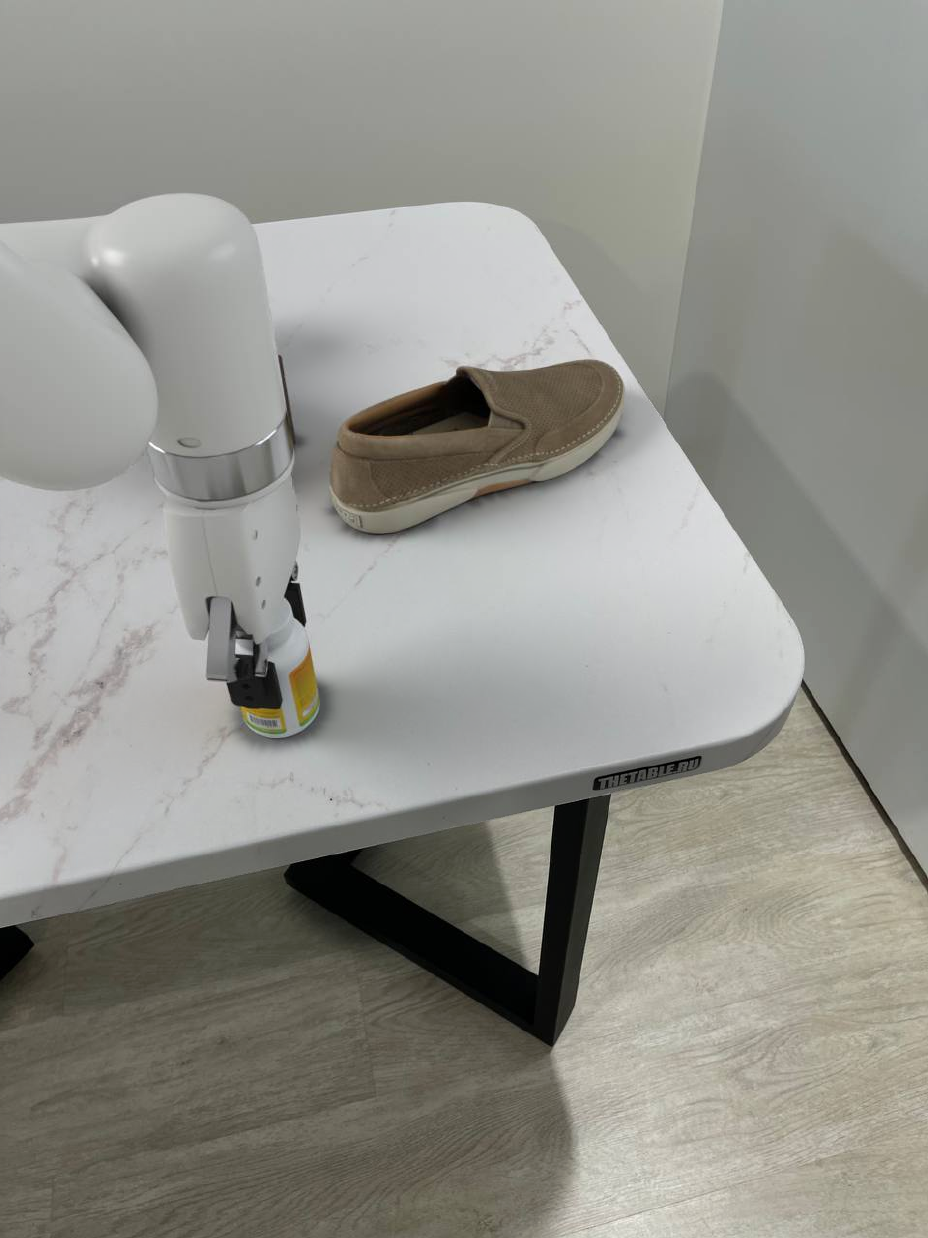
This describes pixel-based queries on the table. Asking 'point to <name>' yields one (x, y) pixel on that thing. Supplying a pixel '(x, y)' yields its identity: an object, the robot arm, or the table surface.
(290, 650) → the supplement bottle
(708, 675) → the table surface
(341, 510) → the slip on shoe
